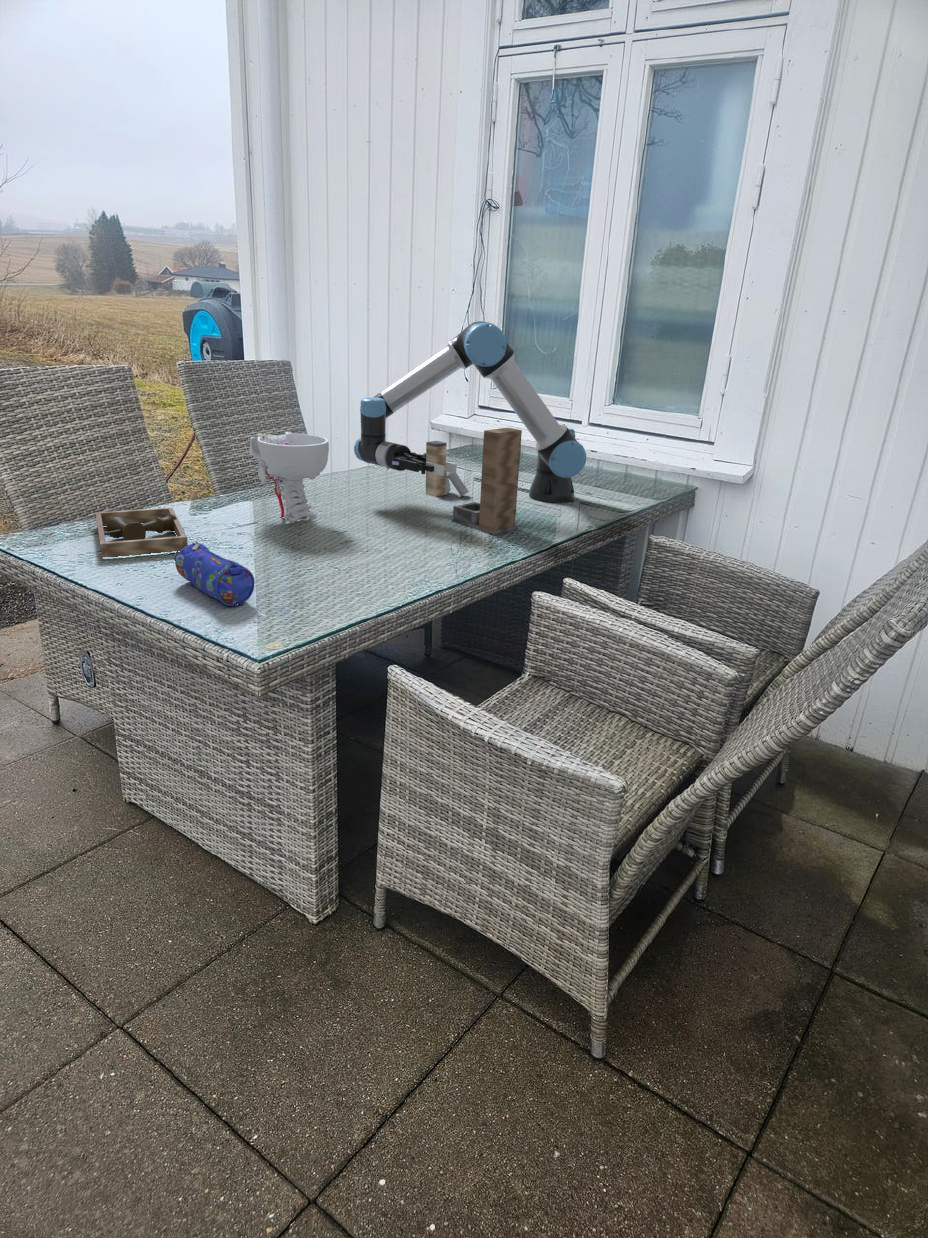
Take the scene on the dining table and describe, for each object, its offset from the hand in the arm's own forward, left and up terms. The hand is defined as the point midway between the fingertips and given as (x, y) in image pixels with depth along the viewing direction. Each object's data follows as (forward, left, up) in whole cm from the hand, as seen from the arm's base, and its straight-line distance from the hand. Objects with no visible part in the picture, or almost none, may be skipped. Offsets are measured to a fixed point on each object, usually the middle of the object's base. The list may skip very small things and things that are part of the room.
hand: (449, 469), depth 216 cm
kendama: (+81, -13, -17) cm, 84 cm away
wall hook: (-17, -35, -17) cm, 43 cm away
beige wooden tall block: (+2, -5, -8) cm, 10 cm away
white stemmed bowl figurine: (+40, -22, -17) cm, 49 cm away
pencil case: (+69, +31, -17) cm, 78 cm away
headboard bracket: (-12, +1, -17) cm, 20 cm away
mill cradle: (+81, -13, -17) cm, 84 cm away
